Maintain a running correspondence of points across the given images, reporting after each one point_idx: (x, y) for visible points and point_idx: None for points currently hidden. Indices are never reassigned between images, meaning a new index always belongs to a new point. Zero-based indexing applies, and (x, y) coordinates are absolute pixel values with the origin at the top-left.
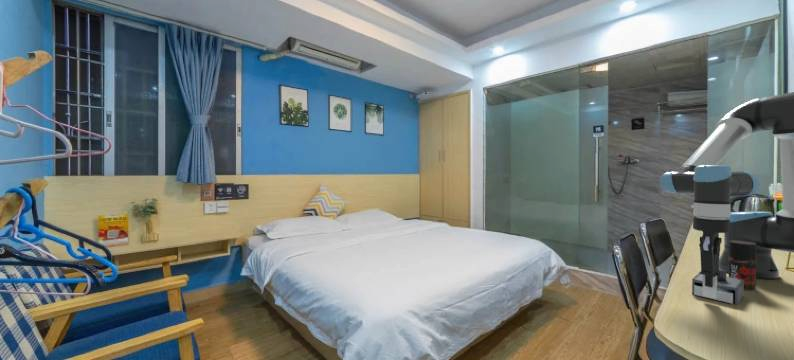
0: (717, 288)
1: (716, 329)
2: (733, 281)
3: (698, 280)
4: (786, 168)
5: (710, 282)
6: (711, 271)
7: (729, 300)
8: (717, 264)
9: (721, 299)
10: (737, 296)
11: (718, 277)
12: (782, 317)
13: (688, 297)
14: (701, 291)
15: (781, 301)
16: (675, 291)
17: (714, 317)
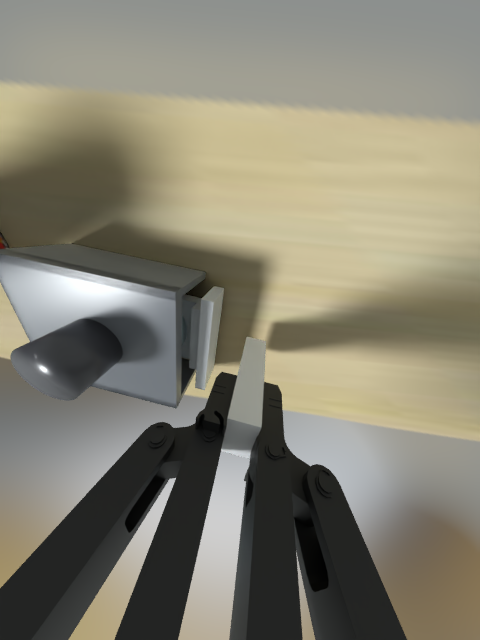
0: None
1: None
2: (65, 294)
3: (176, 395)
4: None
5: (281, 412)
6: (353, 526)
7: (220, 298)
8: (134, 497)
9: (219, 316)
10: (194, 281)
11: (106, 354)
12: (251, 126)
13: None
14: (211, 365)
15: (4, 109)
16: None
17: (403, 343)
